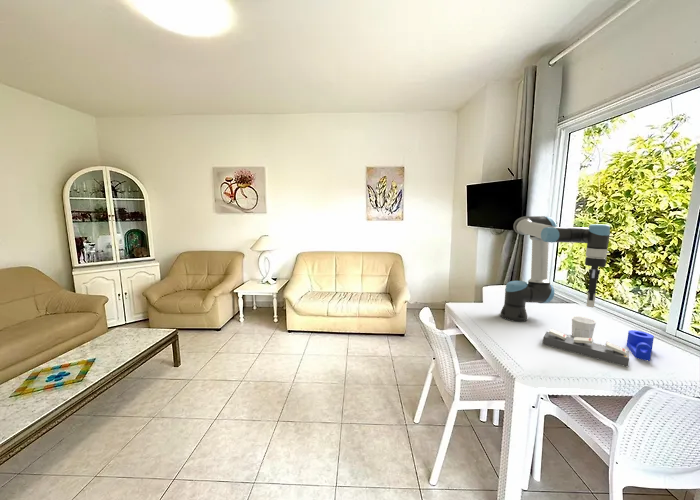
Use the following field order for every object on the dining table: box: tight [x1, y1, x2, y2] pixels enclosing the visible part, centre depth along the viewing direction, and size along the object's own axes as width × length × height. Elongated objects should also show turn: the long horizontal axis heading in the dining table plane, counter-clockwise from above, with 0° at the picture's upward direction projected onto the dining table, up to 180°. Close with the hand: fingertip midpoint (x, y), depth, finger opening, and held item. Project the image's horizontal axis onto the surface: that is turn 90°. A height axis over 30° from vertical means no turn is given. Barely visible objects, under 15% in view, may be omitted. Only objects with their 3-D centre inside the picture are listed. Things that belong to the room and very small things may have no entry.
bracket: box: [626, 329, 655, 362], centre depth 143 cm, size 20×9×8 cm, turn 140°
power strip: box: [542, 331, 630, 367], centre depth 143 cm, size 32×9×5 cm, turn 48°
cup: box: [571, 316, 597, 338], centre depth 159 cm, size 10×10×10 cm
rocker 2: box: [573, 337, 594, 344], centre depth 143 cm, size 7×4×1 cm, turn 48°
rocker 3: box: [605, 341, 627, 355], centre depth 135 cm, size 7×4×1 cm, turn 48°
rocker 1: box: [548, 328, 568, 340], centre depth 150 cm, size 7×4×1 cm, turn 48°
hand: (590, 306), depth 139 cm, fingers closed
